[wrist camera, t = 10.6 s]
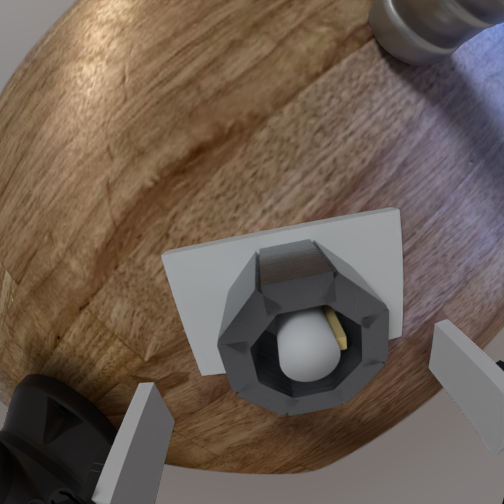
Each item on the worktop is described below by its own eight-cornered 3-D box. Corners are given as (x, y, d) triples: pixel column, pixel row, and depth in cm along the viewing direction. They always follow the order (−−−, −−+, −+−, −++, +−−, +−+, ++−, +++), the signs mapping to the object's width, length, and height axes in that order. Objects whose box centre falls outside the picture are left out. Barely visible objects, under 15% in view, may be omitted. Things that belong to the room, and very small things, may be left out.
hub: (246, 363, 21) (243, 422, 15) (218, 256, 19) (201, 296, 13) (357, 341, 20) (384, 393, 14) (349, 231, 18) (387, 259, 12)
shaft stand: (204, 366, 22) (187, 435, 15) (166, 250, 20) (121, 295, 12) (395, 328, 21) (437, 385, 14) (391, 207, 19) (454, 229, 11)
